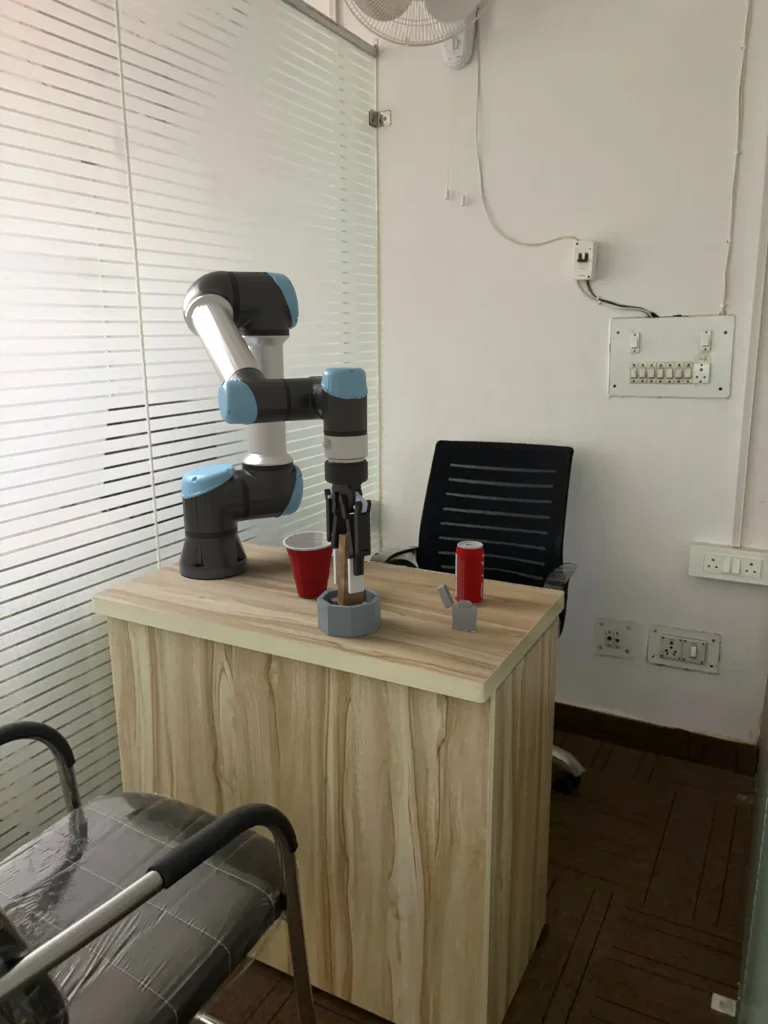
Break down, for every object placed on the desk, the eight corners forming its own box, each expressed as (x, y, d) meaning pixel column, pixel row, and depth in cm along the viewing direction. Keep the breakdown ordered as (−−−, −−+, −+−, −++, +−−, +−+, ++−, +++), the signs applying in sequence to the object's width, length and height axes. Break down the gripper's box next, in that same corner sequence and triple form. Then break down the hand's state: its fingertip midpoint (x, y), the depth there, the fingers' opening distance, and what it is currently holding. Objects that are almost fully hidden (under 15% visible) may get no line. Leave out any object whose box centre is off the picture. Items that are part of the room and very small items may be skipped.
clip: (330, 619, 136) (329, 598, 135) (353, 614, 138) (352, 594, 137) (345, 630, 131) (345, 609, 130) (369, 625, 133) (369, 604, 132)
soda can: (486, 605, 144) (487, 546, 141) (458, 607, 143) (459, 547, 141) (479, 596, 149) (480, 538, 147) (452, 597, 149) (453, 539, 146)
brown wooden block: (336, 620, 134) (339, 534, 132) (356, 618, 136) (358, 532, 134) (342, 624, 132) (345, 536, 130) (362, 621, 134) (365, 535, 132)
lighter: (476, 628, 133) (477, 586, 131) (474, 632, 131) (475, 589, 129) (439, 623, 135) (439, 581, 133) (436, 627, 134) (436, 584, 132)
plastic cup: (274, 598, 149) (271, 540, 146) (304, 582, 158) (302, 528, 156) (319, 607, 144) (317, 547, 141) (347, 590, 153) (346, 534, 151)
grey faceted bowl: (310, 621, 137) (309, 593, 135) (361, 611, 142) (361, 583, 140) (336, 641, 128) (335, 611, 126) (389, 629, 133) (389, 600, 131)
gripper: (304, 453, 133) (308, 577, 139) (350, 468, 118) (353, 606, 123) (342, 450, 137) (344, 570, 142) (391, 464, 122) (392, 598, 127)
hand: (348, 586), depth 133 cm, fingers open, 5 cm apart
